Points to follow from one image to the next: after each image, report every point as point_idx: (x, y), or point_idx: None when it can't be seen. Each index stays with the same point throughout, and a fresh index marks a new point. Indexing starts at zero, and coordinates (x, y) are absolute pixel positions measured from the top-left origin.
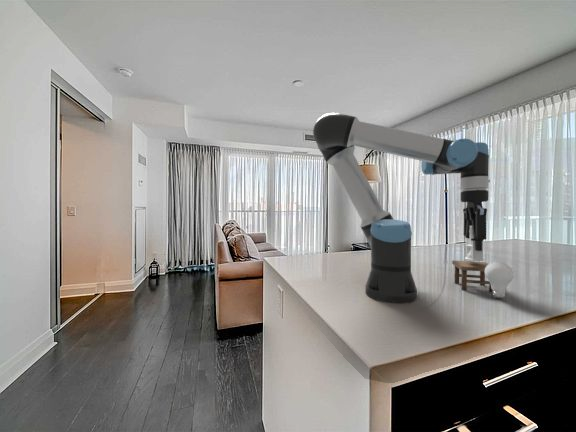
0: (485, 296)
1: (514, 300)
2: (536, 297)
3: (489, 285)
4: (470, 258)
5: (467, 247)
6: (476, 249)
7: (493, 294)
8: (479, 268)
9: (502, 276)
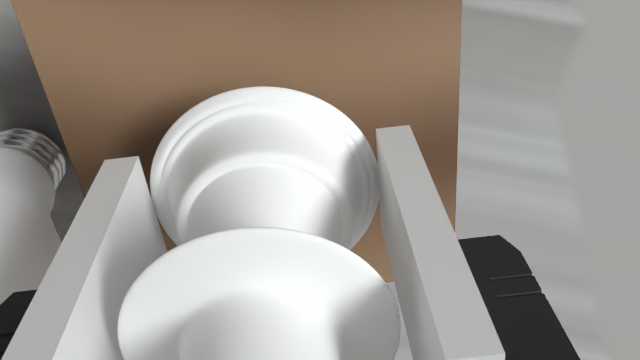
0: (40, 81)
1: (60, 223)
2: None
3: None
4: (188, 152)
5: (405, 229)
6: (7, 307)
7: (3, 135)
8: (81, 166)
9: None
